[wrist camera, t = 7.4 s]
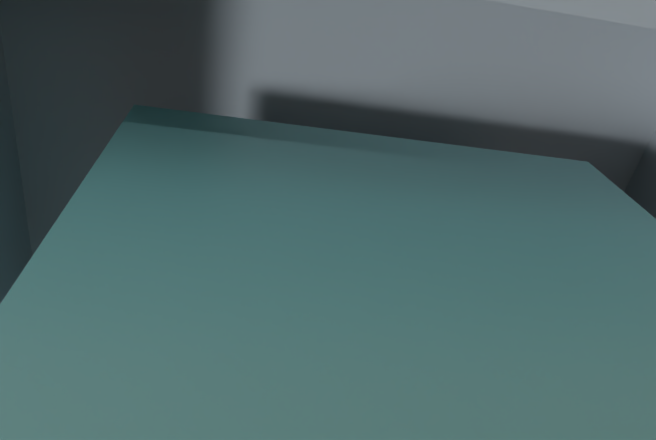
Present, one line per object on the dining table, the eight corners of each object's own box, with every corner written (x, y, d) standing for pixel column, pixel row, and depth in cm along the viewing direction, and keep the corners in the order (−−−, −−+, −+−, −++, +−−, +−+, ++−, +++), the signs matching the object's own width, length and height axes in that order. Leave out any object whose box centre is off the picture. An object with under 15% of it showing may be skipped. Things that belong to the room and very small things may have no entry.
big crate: (737, -30, 9) (1027, 16, 5) (501, 438, 15) (568, 600, 11) (-58, -187, 7) (-379, -267, 4) (40, 423, 13) (-44, 612, 10)
